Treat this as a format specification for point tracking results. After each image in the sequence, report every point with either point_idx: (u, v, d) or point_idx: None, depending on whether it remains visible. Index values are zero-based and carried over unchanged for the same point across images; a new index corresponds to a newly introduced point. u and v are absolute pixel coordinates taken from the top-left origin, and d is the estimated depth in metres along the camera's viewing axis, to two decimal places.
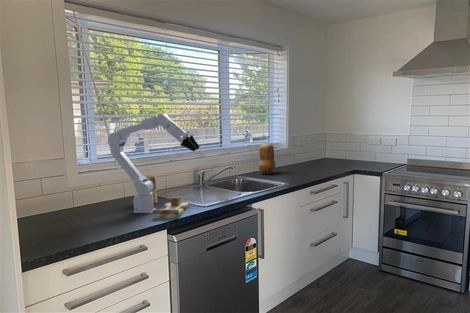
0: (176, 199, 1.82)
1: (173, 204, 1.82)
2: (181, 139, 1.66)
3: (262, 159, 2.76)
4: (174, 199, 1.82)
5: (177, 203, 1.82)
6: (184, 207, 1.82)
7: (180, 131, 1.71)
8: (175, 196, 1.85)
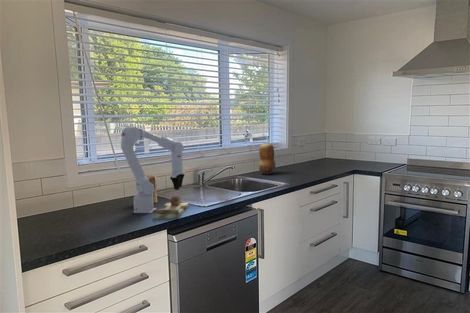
0: (176, 199, 1.82)
1: (173, 204, 1.82)
2: (174, 176, 1.81)
3: (262, 159, 2.76)
4: (174, 199, 1.82)
5: (177, 203, 1.82)
6: (184, 207, 1.82)
7: (179, 167, 1.86)
8: (175, 196, 1.85)
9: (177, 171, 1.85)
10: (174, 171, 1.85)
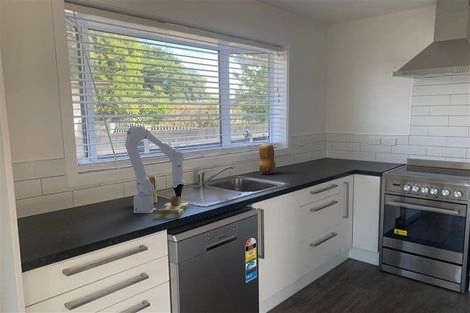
0: (176, 199, 1.82)
1: (173, 204, 1.82)
2: (174, 186, 1.82)
3: (262, 159, 2.76)
4: (174, 199, 1.82)
5: (177, 203, 1.82)
6: (184, 207, 1.82)
7: (180, 177, 1.86)
8: (175, 196, 1.85)
9: (177, 181, 1.86)
10: (174, 181, 1.86)
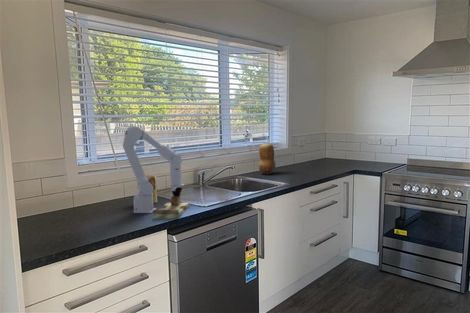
0: (176, 199, 1.82)
1: (173, 204, 1.82)
2: (173, 189, 1.78)
3: (262, 159, 2.76)
4: (174, 199, 1.82)
5: (177, 203, 1.82)
6: (184, 207, 1.82)
7: (178, 180, 1.83)
8: (175, 196, 1.85)
9: (176, 184, 1.83)
10: (173, 184, 1.83)
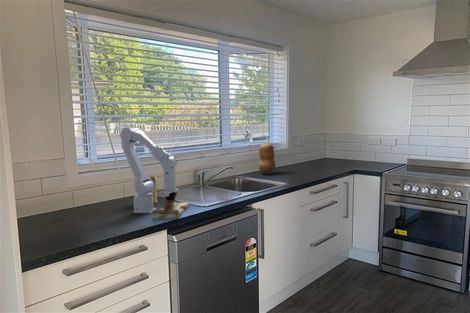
0: (169, 205, 1.70)
1: None
2: (166, 194, 1.67)
3: (262, 159, 2.76)
4: (167, 205, 1.70)
5: (171, 209, 1.71)
6: (184, 207, 1.82)
7: (172, 185, 1.72)
8: (168, 200, 1.73)
9: (170, 189, 1.71)
10: (167, 189, 1.72)
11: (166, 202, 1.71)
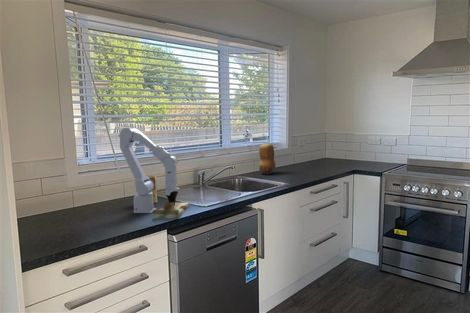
0: (169, 205, 1.69)
1: None
2: (168, 193, 1.70)
3: (262, 159, 2.76)
4: (167, 205, 1.70)
5: None
6: (184, 207, 1.82)
7: (173, 184, 1.74)
8: (168, 202, 1.73)
9: (171, 188, 1.74)
10: (168, 188, 1.74)
11: (166, 203, 1.71)
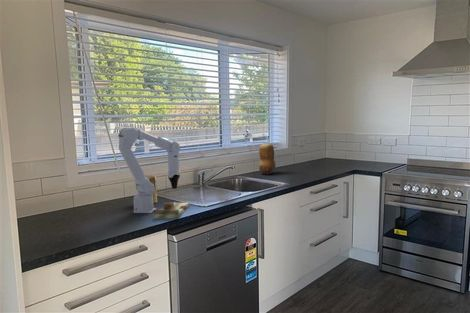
0: (169, 205, 1.69)
1: None
2: (170, 176, 1.81)
3: (262, 159, 2.76)
4: (167, 205, 1.70)
5: None
6: (184, 207, 1.82)
7: (175, 167, 1.86)
8: (168, 202, 1.73)
9: (173, 171, 1.85)
10: (170, 171, 1.86)
11: (166, 203, 1.71)
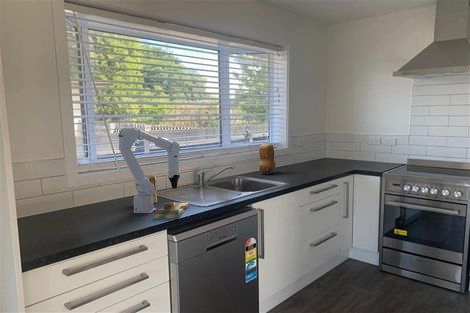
0: (169, 205, 1.69)
1: None
2: (170, 176, 1.81)
3: (262, 159, 2.76)
4: (167, 205, 1.70)
5: None
6: (184, 207, 1.82)
7: (175, 167, 1.86)
8: (168, 202, 1.73)
9: (173, 171, 1.85)
10: (170, 171, 1.86)
11: (166, 203, 1.71)
